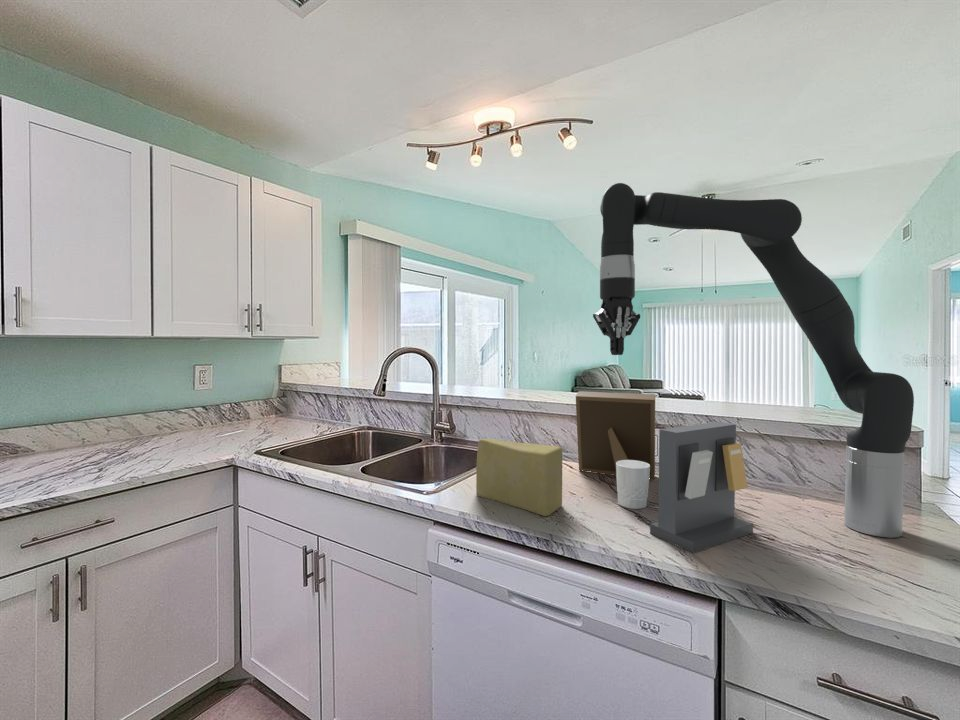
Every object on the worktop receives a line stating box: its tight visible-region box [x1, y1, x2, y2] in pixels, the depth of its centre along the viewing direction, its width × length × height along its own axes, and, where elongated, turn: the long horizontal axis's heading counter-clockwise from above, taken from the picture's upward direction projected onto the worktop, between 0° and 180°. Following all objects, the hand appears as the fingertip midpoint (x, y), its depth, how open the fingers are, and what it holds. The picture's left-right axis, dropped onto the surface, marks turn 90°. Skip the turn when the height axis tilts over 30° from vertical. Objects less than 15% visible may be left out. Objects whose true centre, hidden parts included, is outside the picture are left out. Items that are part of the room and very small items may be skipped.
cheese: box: [475, 438, 563, 517], centre depth 111 cm, size 22×10×15 cm, turn 56°
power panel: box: [649, 421, 754, 554], centre depth 93 cm, size 19×10×22 cm, turn 118°
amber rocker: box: [722, 442, 748, 492], centre depth 92 cm, size 4×1×9 cm, turn 118°
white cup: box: [615, 460, 650, 510], centre depth 110 cm, size 8×8×10 cm
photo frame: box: [575, 390, 656, 480], centre depth 131 cm, size 15×22×25 cm
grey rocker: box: [685, 450, 713, 499], centre depth 87 cm, size 4×1×9 cm, turn 118°
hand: (617, 354), depth 102 cm, fingers closed
